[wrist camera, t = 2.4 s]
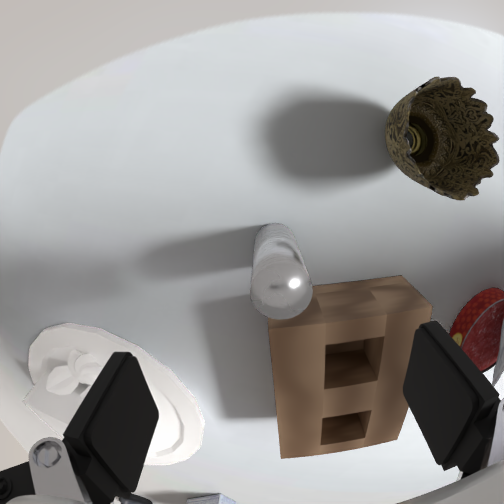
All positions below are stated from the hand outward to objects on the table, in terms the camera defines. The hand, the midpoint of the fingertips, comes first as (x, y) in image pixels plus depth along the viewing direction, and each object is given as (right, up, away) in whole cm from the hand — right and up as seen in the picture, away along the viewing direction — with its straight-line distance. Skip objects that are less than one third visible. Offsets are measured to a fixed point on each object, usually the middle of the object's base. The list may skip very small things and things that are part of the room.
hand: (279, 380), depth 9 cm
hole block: (+7, -6, +18) cm, 20 cm away
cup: (+11, +13, +12) cm, 21 cm away
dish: (-19, -15, +23) cm, 33 cm away
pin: (+1, +5, +15) cm, 16 cm away
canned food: (+25, -4, +17) cm, 31 cm away
